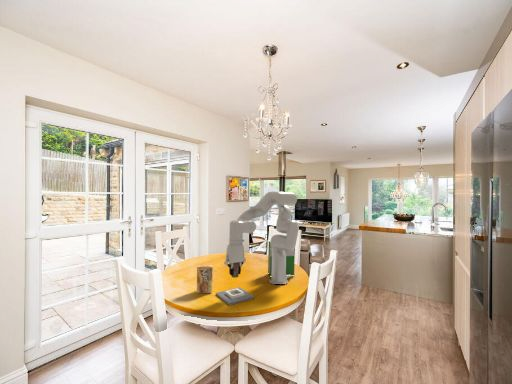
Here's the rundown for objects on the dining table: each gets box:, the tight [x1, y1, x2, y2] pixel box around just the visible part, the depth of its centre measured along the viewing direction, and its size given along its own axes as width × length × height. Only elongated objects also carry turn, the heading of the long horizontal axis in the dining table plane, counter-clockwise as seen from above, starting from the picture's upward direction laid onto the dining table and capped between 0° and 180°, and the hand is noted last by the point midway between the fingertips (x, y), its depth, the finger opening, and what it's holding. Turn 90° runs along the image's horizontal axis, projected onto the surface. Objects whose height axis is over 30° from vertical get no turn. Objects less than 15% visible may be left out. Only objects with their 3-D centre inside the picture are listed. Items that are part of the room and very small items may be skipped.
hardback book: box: [267, 241, 296, 277], centre depth 173 cm, size 18×7×24 cm, turn 98°
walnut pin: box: [230, 262, 240, 279], centre depth 136 cm, size 4×4×8 cm
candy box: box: [196, 264, 214, 294], centre depth 142 cm, size 9×4×15 cm, turn 93°
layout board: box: [215, 286, 255, 306], centre depth 136 cm, size 16×16×2 cm
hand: (235, 274), depth 136 cm, fingers closed on walnut pin, 4 cm apart
